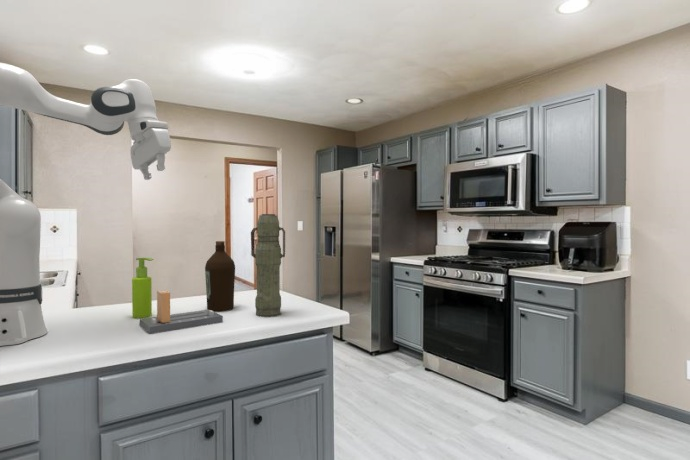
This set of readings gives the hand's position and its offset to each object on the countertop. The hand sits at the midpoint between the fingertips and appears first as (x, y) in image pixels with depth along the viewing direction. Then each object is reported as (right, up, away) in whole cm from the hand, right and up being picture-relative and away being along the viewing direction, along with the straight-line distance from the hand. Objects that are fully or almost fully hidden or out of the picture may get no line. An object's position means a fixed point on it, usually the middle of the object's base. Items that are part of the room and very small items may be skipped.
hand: (154, 174), depth 128 cm
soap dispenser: (-10, -47, +13) cm, 49 cm away
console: (+7, -47, +3) cm, 47 cm away
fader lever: (+4, -45, -2) cm, 45 cm away
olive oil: (+13, -46, +25) cm, 54 cm away
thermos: (+32, -47, +17) cm, 59 cm away
